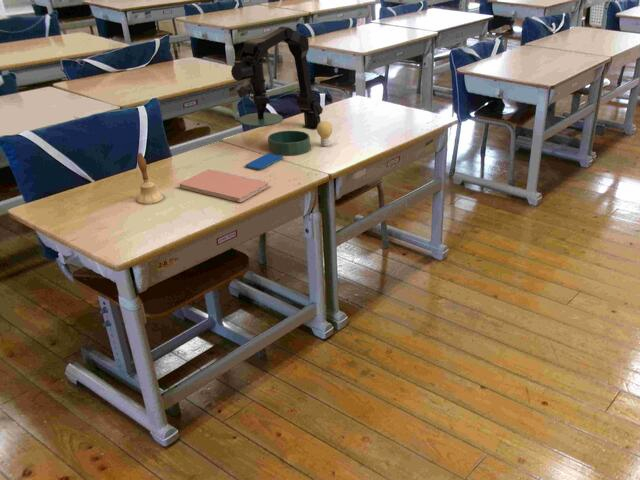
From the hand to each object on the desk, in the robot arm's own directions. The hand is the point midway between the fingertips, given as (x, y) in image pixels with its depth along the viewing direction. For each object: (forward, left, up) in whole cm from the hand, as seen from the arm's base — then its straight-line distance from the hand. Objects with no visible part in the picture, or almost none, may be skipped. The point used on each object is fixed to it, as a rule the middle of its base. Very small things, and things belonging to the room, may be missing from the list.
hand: (260, 116), depth 254 cm
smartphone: (+14, -16, -12) cm, 24 cm away
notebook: (+18, -42, -12) cm, 47 cm away
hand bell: (+4, -63, -12) cm, 64 cm away
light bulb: (+22, +13, -12) cm, 28 cm away
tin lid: (0, 0, -2) cm, 2 cm away
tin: (+12, +2, -12) cm, 17 cm away
